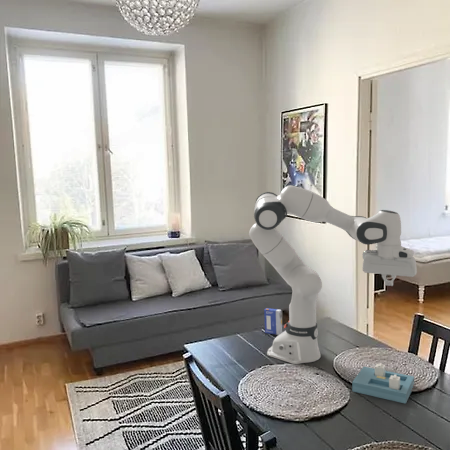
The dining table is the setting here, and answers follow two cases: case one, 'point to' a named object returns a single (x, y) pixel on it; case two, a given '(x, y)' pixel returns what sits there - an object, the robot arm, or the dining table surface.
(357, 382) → the switch bank
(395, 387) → the tab near
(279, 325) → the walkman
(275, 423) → the dining table surface
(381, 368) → the tab far
